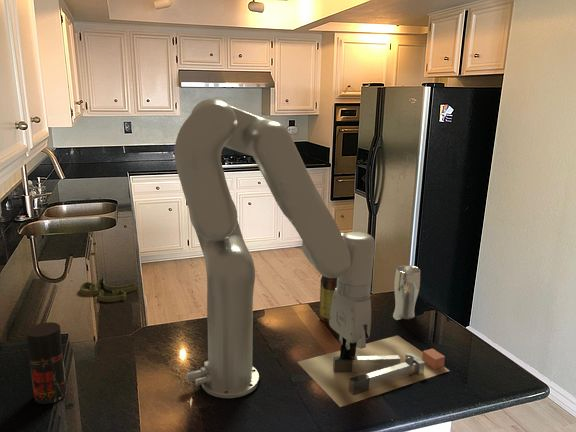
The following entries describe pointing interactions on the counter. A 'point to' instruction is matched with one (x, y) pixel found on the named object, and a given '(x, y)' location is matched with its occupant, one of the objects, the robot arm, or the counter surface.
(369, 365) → the tong jaw
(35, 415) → the counter surface
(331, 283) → the sauce bottle
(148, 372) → the counter surface
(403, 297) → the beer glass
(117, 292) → the cookie cutter
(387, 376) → the base
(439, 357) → the tab
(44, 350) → the deodorant
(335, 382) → the board
